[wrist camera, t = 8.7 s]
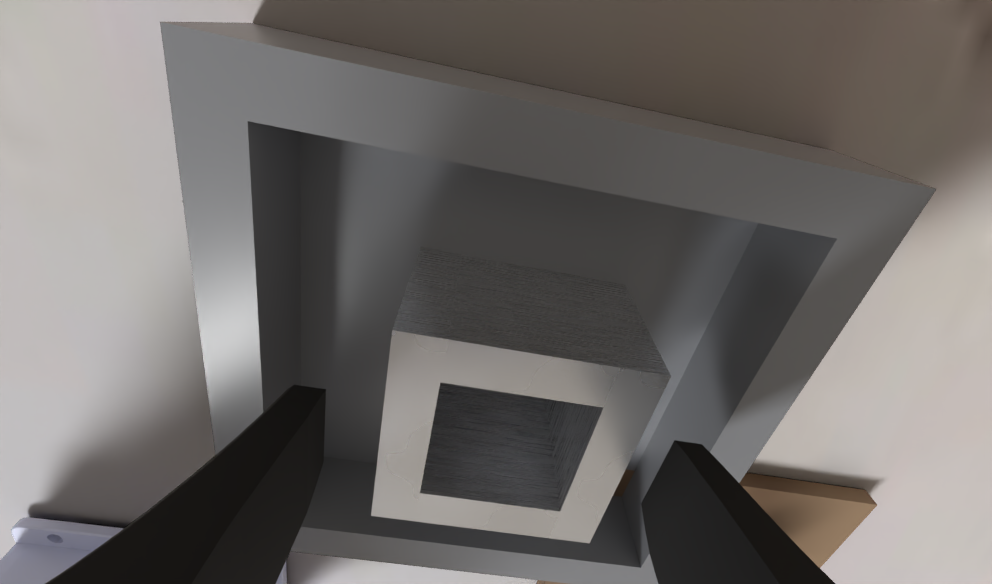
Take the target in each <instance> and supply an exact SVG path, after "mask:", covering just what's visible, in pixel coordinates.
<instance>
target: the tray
mask: <svg viewBox="0 0 992 584" xmlns="http://www.w3.org/2000/svg"><path fill="white" fill-rule="evenodd" d="M160 25H161V33H162V41H163V48H164V56H165V64H166V72H167V80H168V88H169V95H170V103H171V111H172V119H173V127H174V134H175V142H176V150H177V158H178V166H179V174H180V181H181V189H182V197H183V205H184V213H185V220H186V228H187V236H188V244H189V252H190V260H191V267H192V275H193V283H194V291H195V299H196V306H197V314H198V322H199V330H200V338H201V346H202V353H203V361H204V369H205V377H206V385H207V392H208V400H209V408H210V416H211V424H212V432H213V439H214V447H215V455H216V454H218V453H219V452H220V451H221V450H222V449H223V448H224V447H226V446H227V445H228V444H229V443H230V442H231V441H233V440H234V439H235V438H236V437H237V436H238V435H239V434H240V433H241V432H243V431H244V430H245V429H246V428H247V427H248V426H249V425H250V424H251V423H252V422H254V421H255V420H256V419H257V418H258V417H259V416H260V415H261V414H262V413H263V412H264V411H265V410H266V409H267V408H268V407H269V406H271V405H272V404H273V403H274V402H275V401H276V400H277V399H278V398H279V397H280V396H281V395H282V394H283V393H284V392H285V391H286V390H287V389H288V388H290V387H291V386H293V385H300V386H307V387H314V388H321V389H326V405H325V435H324V462H323V465H322V468H321V472H320V475H319V478H318V481H317V484H316V487H315V490H314V493H313V496H312V499H311V502H310V505H309V508H308V511H307V514H306V516H305V519H304V521H303V523H302V526H301V528H300V530H299V532H298V535H297V537H296V539H295V541H294V544H293V546H292V548H291V550H290V551H291V552H299V553H308V554H317V555H325V556H334V557H343V558H351V559H360V560H369V561H377V562H386V563H395V564H403V565H412V566H421V567H429V568H438V569H447V570H455V571H464V572H473V573H481V574H490V575H499V576H507V577H516V578H525V579H533V580H542V581H550V582H559V583H568V584H658V581H657V578H656V574H655V571H654V567H653V564H652V560H651V557H650V553H649V548H648V542H647V537H646V532H645V526H644V519H643V513H642V507H641V503H642V501H643V499H644V497H645V495H646V493H647V491H648V489H649V487H650V486H651V484H652V482H653V480H654V478H655V476H656V474H657V472H658V470H659V469H660V467H661V465H662V463H663V461H664V459H665V457H666V455H667V453H668V452H669V450H670V448H671V446H672V444H673V442H674V440H676V441H683V442H690V443H697V444H702V445H703V446H704V447H705V448H706V449H707V450H708V451H709V452H710V453H711V454H712V455H713V456H714V457H715V458H716V459H717V460H718V461H719V462H720V463H721V464H722V465H723V466H724V467H725V469H726V470H727V471H728V472H729V473H730V474H731V475H732V476H733V477H734V478H735V479H736V480H737V481H738V483H740V481H741V480H742V478H743V477H744V476H745V474H746V473H747V471H748V470H749V468H750V467H751V465H752V464H753V462H754V461H755V459H756V458H757V456H758V455H759V453H760V452H761V450H762V449H763V447H764V446H765V444H766V443H767V441H768V440H769V438H770V437H771V435H772V434H773V432H774V431H775V429H776V428H777V426H778V425H779V423H780V422H781V420H782V419H783V417H784V416H785V414H786V413H787V411H788V410H789V408H790V407H791V405H792V404H793V402H794V401H795V399H796V398H797V396H798V395H799V393H800V392H801V390H802V389H803V388H804V386H805V385H806V383H807V382H808V380H809V379H810V377H811V376H812V374H813V373H814V371H815V370H816V368H817V367H818V365H819V364H820V362H821V361H822V359H823V358H824V356H825V355H826V353H827V352H828V350H829V349H830V347H831V346H832V344H833V343H834V341H835V340H836V338H837V337H838V335H839V334H840V332H841V331H842V329H843V328H844V326H845V325H846V323H847V322H848V320H849V319H850V317H851V316H852V314H853V313H854V311H855V310H856V308H857V307H858V305H859V304H860V302H861V301H862V299H863V298H864V297H865V295H866V294H867V292H868V291H869V289H870V288H871V286H872V285H873V283H874V282H875V280H876V279H877V277H878V276H879V274H880V273H881V271H882V270H883V268H884V267H885V265H886V264H887V262H888V261H889V259H890V258H891V256H892V255H893V253H894V252H895V250H896V249H897V247H898V246H899V244H900V243H901V241H902V240H903V238H904V237H905V235H906V234H907V232H908V231H909V229H910V228H911V226H912V225H913V223H914V222H915V220H916V219H917V217H918V216H919V214H920V213H921V211H922V210H923V209H924V207H925V206H926V204H927V203H928V201H929V200H930V198H931V197H932V195H933V194H934V192H935V191H936V189H935V188H932V187H929V186H927V185H924V184H921V183H919V182H916V181H913V180H911V179H908V178H905V177H902V176H900V175H897V174H894V173H892V172H889V171H886V170H883V169H881V168H878V167H875V166H873V165H870V164H867V163H864V162H862V161H859V160H856V159H854V158H851V157H848V156H846V155H843V154H840V153H837V152H835V151H832V150H828V149H824V148H819V147H814V146H810V145H805V144H801V143H796V142H792V141H787V140H783V139H778V138H773V137H769V136H764V135H760V134H755V133H751V132H746V131H741V130H737V129H732V128H728V127H723V126H719V125H714V124H710V123H705V122H700V121H696V120H691V119H687V118H682V117H678V116H673V115H668V114H664V113H659V112H655V111H650V110H646V109H641V108H636V107H632V106H627V105H623V104H618V103H614V102H609V101H605V100H600V99H595V98H591V97H586V96H582V95H577V94H573V93H568V92H563V91H559V90H554V89H550V88H545V87H541V86H536V85H532V84H527V83H522V82H518V81H513V80H509V79H504V78H500V77H495V76H490V75H486V74H481V73H477V72H472V71H468V70H463V69H459V68H454V67H449V66H445V65H440V64H436V63H431V62H427V61H422V60H417V59H413V58H408V57H404V56H399V55H395V54H390V53H386V52H381V51H376V50H372V49H367V48H363V47H358V46H354V45H349V44H344V43H340V42H335V41H331V40H326V39H322V38H317V37H313V36H308V35H303V34H299V33H294V32H290V31H285V30H281V29H276V28H271V27H267V26H262V25H258V24H253V23H214V22H160ZM420 247H423V248H429V249H434V250H440V251H445V252H451V253H456V254H462V255H467V256H472V257H478V258H483V259H489V260H494V261H500V262H505V263H511V264H516V265H522V266H527V267H533V268H538V269H544V270H549V271H554V272H560V273H565V274H571V275H576V276H582V277H587V278H593V279H598V280H604V281H609V282H615V283H620V284H625V285H626V287H627V289H628V291H629V293H630V295H631V297H632V299H633V301H634V303H635V305H636V307H637V309H638V311H639V313H640V315H641V317H642V319H643V321H644V323H645V325H646V327H647V329H648V331H649V333H650V335H651V337H652V339H653V341H654V343H655V345H656V347H657V349H658V351H659V353H660V355H661V357H662V359H663V361H664V363H665V365H666V367H667V369H668V371H669V373H670V375H671V378H670V380H669V382H668V384H667V386H666V388H665V390H664V392H663V394H662V396H661V398H660V400H659V402H658V404H657V406H656V408H655V411H654V413H653V415H652V417H651V419H650V421H649V423H648V425H647V427H646V429H645V431H644V433H643V435H642V437H641V439H640V441H639V443H638V445H637V447H636V449H635V451H634V453H633V455H632V458H631V460H630V462H629V464H628V466H627V468H626V470H633V471H634V473H633V475H632V477H631V479H630V481H629V483H628V485H627V487H626V489H625V491H624V493H623V495H622V497H620V496H615V495H614V496H612V498H611V500H610V503H609V505H608V507H607V509H606V511H605V513H604V515H603V517H602V519H601V521H600V523H599V525H598V527H597V529H596V531H595V533H594V535H593V537H592V539H591V541H590V543H583V542H575V541H567V540H559V539H551V538H543V537H535V536H527V535H519V534H511V533H503V532H496V531H488V530H480V529H472V528H464V527H456V526H448V525H440V524H432V523H424V522H416V521H408V520H400V519H392V518H384V517H377V516H371V511H372V503H373V494H374V485H375V476H376V468H377V459H378V450H379V441H380V433H381V424H382V415H383V406H384V398H385V389H386V380H387V371H388V363H389V354H390V345H391V336H392V329H393V326H394V324H395V321H396V318H397V315H398V312H399V309H400V306H401V303H402V300H403V297H404V294H405V291H406V288H407V285H408V282H409V279H410V277H411V274H412V271H413V268H414V265H415V262H416V259H417V256H418V253H419V250H420ZM440 386H446V387H453V388H459V389H465V390H472V391H478V392H485V393H491V394H498V395H504V396H511V397H517V398H524V399H530V400H536V401H543V402H546V399H544V398H538V397H531V396H525V395H518V394H512V393H505V392H499V391H493V390H486V389H480V388H473V387H467V386H460V385H454V384H448V383H441V382H440ZM614 493H615V492H614Z"/></svg>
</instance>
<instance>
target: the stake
mask: <svg viewBox="0 0 992 584" xmlns="http://www.w3.org/2000/svg"><path fill="white" fill-rule="evenodd" d="M633 473H634V471H633V470H625V472H624V474H623V476H622V478H621V480H620V482H619V484H618V486H617V488H616V490H615V493H614V494H613V496H614V495H615V496H620V497H622V495H623V493H624V491H625V489H626V487H627V485H628V483H629V481H630V479H631V477H632V475H633ZM739 484H740V485H741V486H742V487H743V488H744V489H745V490H746V491H747V492H748V493H749V494H750V496H751V497H752V498H753V499H754V500H755V501H756V502H757V503H758V504H759V505H760V506H761V507H762V509H763V510H764V511H765V512H766V513H767V514H768V515H769V516H770V517H771V518H772V519H773V520H774V521H775V522H776V524H777V525H778V526H779V527H780V528H781V529H782V530H783V531H784V532H785V533H786V534H787V535H788V536H789V537H790V538H791V539H792V540H793V541H794V543H795V544H796V545H797V546H798V547H799V548H800V549H801V550H802V551H803V552H804V553H805V554H806V555H807V556H808V557H809V558H810V559H811V560H812V561H813V562H814V563H815V564H816V565H817V566H818V567H819V568H820V567H821V566H822V565H823V564H824V563H825V562H826V561H827V560H828V559H829V557H830V556H831V555H832V554H833V553H834V552H835V551H836V550H837V549H838V548H839V546H840V545H841V544H842V543H843V542H844V541H845V540H846V539H847V538H848V537H849V536H850V534H851V533H852V532H853V531H854V530H855V529H856V528H857V527H858V526H859V525H860V523H861V522H862V521H863V520H864V519H865V518H866V517H867V516H868V515H869V514H870V513H871V511H872V510H873V509H874V508H875V507H876V506H877V504H876V503H875V501H874V500H873V499H872V498H871V496H870V495H869V494H868V493H867V491H866V490H862V489H855V488H848V487H841V486H834V485H827V484H820V483H813V482H806V481H800V480H793V479H786V478H779V477H772V476H765V475H758V474H751V473H746V474H745V476H744V477H743V478H742V480H741V481H740V483H739ZM537 584H568V583H559V582H550V581H542V580H538V581H537Z"/></svg>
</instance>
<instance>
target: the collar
mask: <svg viewBox="0 0 992 584" xmlns="http://www.w3.org/2000/svg"><path fill="white" fill-rule="evenodd" d="M670 378H671V375H670V373H669V371H668V369H667V367H666V365H665V363H664V361H663V359H662V357H661V355H660V353H659V351H658V349H657V347H656V345H655V343H654V341H653V339H652V337H651V335H650V333H649V331H648V329H647V327H646V325H645V323H644V321H643V319H642V317H641V315H640V313H639V311H638V309H637V307H636V305H635V303H634V301H633V299H632V297H631V295H630V293H629V291H628V289H627V287H626V285H625V284H620V283H615V282H609V281H604V280H598V279H593V278H587V277H582V276H576V275H571V274H565V273H560V272H554V271H549V270H544V269H538V268H533V267H527V266H522V265H516V264H511V263H505V262H500V261H494V260H489V259H483V258H478V257H472V256H467V255H462V254H456V253H451V252H445V251H440V250H434V249H429V248H423V247H420V250H419V253H418V256H417V259H416V262H415V265H414V268H413V271H412V274H411V277H410V279H409V282H408V285H407V288H406V291H405V294H404V297H403V300H402V303H401V306H400V309H399V312H398V315H397V318H396V321H395V324H394V326H393V329H392V336H391V345H390V354H389V363H388V371H387V380H386V389H385V398H384V406H383V415H382V424H381V433H380V441H379V450H378V459H377V468H376V476H375V485H374V494H373V503H372V511H371V516H377V517H384V518H392V519H400V520H408V521H416V522H424V523H432V524H440V525H448V526H456V527H464V528H472V529H480V530H488V531H496V532H503V533H511V534H519V535H527V536H535V537H543V538H551V539H559V540H567V541H575V542H583V543H590V541H591V539H592V537H593V535H594V533H595V531H596V529H597V527H598V525H599V523H600V521H601V519H602V517H603V515H604V513H605V511H606V509H607V507H608V505H609V503H610V500H611V498H612V496H613V494H614V492H615V490H616V488H617V486H618V484H619V482H620V480H621V478H622V476H623V474H624V472H625V470H626V468H627V466H628V464H629V462H630V460H631V458H632V455H633V453H634V451H635V449H636V447H637V445H638V443H639V441H640V439H641V437H642V435H643V433H644V431H645V429H646V427H647V425H648V423H649V421H650V419H651V417H652V415H653V413H654V411H655V408H656V406H657V404H658V402H659V400H660V398H661V396H662V394H663V392H664V390H665V388H666V386H667V384H668V382H669V380H670ZM440 382H441V383H448V384H454V385H460V386H467V387H473V388H480V389H486V390H493V391H499V392H505V393H512V394H518V395H525V396H531V397H538V398H544V399H546V402H543V401H536V400H530V399H524V398H517V397H511V396H504V395H498V394H491V393H485V392H478V391H472V390H465V389H459V388H453V387H446V386H440Z"/></svg>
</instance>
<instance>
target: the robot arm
mask: <svg viewBox="0 0 992 584" xmlns="http://www.w3.org/2000/svg"><path fill="white" fill-rule="evenodd" d="M325 405H326V389H321V388H314V387H307V386H300V385H293V386H291V387H290V388H288V389H287V390H286V391H285V392H284V393H283V394H282V395H281V396H280V397H279V398H278V399H277V400H276V401H275V402H274V403H273V404H272V405H271V406H269V407H268V408H267V409H266V410H265V411H264V412H263V413H262V414H261V415H260V416H259V417H258V418H257V419H256V420H255V421H254V422H252V423H251V424H250V425H249V426H248V427H247V428H246V429H245V430H244V431H243V432H241V433H240V434H239V435H238V436H237V437H236V438H235V439H234V440H233V441H231V442H230V443H229V444H228V445H227V446H226V447H224V448H223V449H222V450H221V451H220V452H219V453H218V454H216V455H215V456H214V457H213V458H212V459H211V460H210V461H208V462H207V463H206V464H205V465H204V466H203V467H201V468H200V469H199V470H198V471H197V472H195V473H194V474H193V475H192V476H191V477H189V478H188V479H187V480H186V481H184V482H183V483H182V484H181V485H179V486H178V487H177V488H176V489H174V490H173V491H172V492H171V493H169V494H168V495H167V496H165V497H164V498H163V499H162V500H160V501H159V502H158V503H157V504H155V505H154V506H153V507H152V508H150V509H149V510H148V511H147V512H145V513H144V514H143V515H141V516H140V517H139V518H137V519H136V520H135V521H133V522H132V523H131V524H129V525H128V526H127V527H125V528H117V527H109V526H100V525H92V524H83V523H74V522H66V521H57V520H49V519H40V518H23V519H20V520H19V521H18V522H17V523H16V524H15V525H14V526H13V528H12V529H11V532H12V535H13V537H14V540H15V542H16V544H15V545H14V546H13V547H12V548H11V549H10V550H9V552H8V553H7V554H6V555H5V556H4V557H3V558H2V559H1V560H0V584H287V576H286V559H287V557H288V555H289V553H290V550H291V548H292V546H293V544H294V541H295V539H296V537H297V535H298V532H299V530H300V528H301V526H302V523H303V521H304V519H305V516H306V514H307V511H308V508H309V505H310V502H311V499H312V496H313V493H314V490H315V487H316V484H317V481H318V478H319V475H320V472H321V468H322V465H323V462H324V435H325ZM641 507H642V513H643V519H644V526H645V532H646V537H647V542H648V548H649V553H650V557H651V560H652V564H653V567H654V571H655V574H656V578H657V581H658V584H835V583H834V582H833V581H832V580H831V579H830V578H829V577H828V576H827V575H826V574H825V573H824V572H823V571H822V570H821V569H820V568H819V567H818V566H817V565H816V564H815V563H814V562H813V561H812V560H811V559H810V558H809V557H808V556H807V555H806V554H805V553H804V552H803V551H802V550H801V549H800V548H799V547H798V546H797V545H796V544H795V543H794V541H793V540H792V539H791V538H790V537H789V536H788V535H787V534H786V533H785V532H784V531H783V530H782V529H781V528H780V527H779V526H778V525H777V524H776V522H775V521H774V520H773V519H772V518H771V517H770V516H769V515H768V514H767V513H766V512H765V511H764V510H763V509H762V507H761V506H760V505H759V504H758V503H757V502H756V501H755V500H754V499H753V498H752V497H751V496H750V494H749V493H748V492H747V491H746V490H745V489H744V488H743V487H742V486H741V485H740V484H739V483H738V481H737V480H736V479H735V478H734V477H733V476H732V475H731V474H730V473H729V472H728V471H727V470H726V469H725V467H724V466H723V465H722V464H721V463H720V462H719V461H718V460H717V459H716V458H715V457H714V456H713V455H712V454H711V453H710V452H709V451H708V450H707V449H706V448H705V447H704V446H703V445H702V444H697V443H690V442H683V441H676V440H674V442H673V444H672V446H671V448H670V450H669V452H668V453H667V455H666V457H665V459H664V461H663V463H662V465H661V467H660V469H659V470H658V472H657V474H656V476H655V478H654V480H653V482H652V484H651V486H650V487H649V489H648V491H647V493H646V495H645V497H644V499H643V501H642V503H641Z"/></svg>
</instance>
